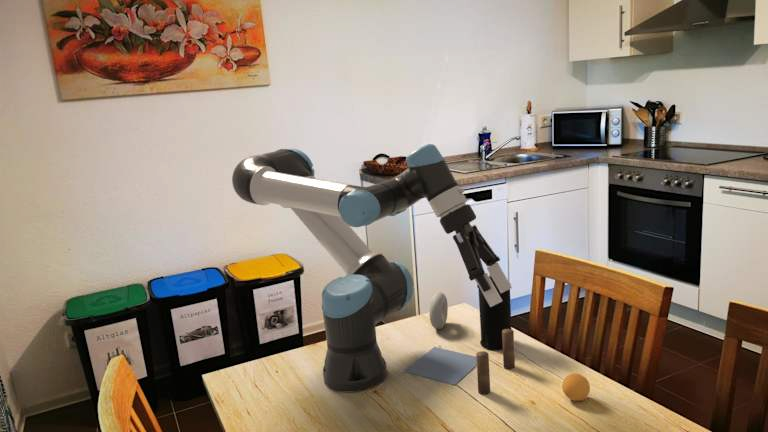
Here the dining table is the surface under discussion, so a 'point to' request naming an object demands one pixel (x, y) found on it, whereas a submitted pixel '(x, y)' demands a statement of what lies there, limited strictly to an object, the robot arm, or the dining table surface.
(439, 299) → the donut
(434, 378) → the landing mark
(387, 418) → the dining table surface
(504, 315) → the aerosol can
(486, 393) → the post
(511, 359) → the post
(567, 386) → the ball
